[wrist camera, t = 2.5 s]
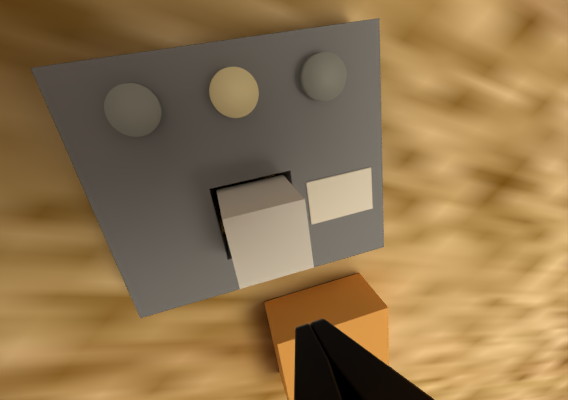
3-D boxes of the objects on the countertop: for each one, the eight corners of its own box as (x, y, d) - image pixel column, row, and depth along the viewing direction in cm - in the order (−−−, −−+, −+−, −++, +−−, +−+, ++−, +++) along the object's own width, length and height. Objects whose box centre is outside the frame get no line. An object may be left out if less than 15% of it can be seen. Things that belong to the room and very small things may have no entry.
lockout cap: (279, 373, 24) (293, 421, 20) (264, 301, 21) (277, 344, 18) (363, 343, 25) (389, 384, 22) (359, 272, 22) (388, 307, 19)
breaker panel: (146, 288, 18) (138, 326, 16) (57, 69, 13) (21, 67, 11) (363, 228, 21) (389, 252, 18) (353, 26, 16) (386, 15, 13)
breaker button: (231, 248, 17) (239, 289, 13) (216, 189, 15) (222, 219, 12) (291, 232, 17) (313, 267, 14) (283, 174, 16) (304, 199, 13)
